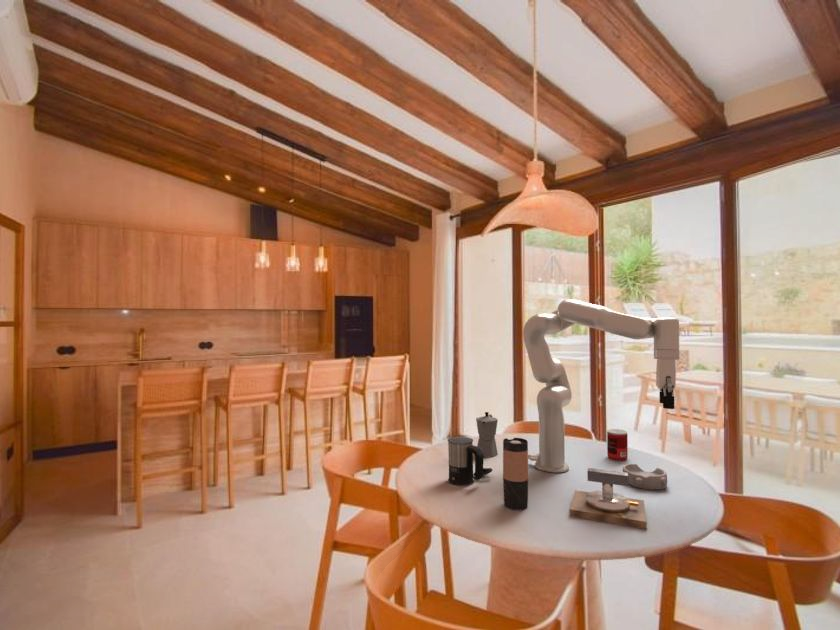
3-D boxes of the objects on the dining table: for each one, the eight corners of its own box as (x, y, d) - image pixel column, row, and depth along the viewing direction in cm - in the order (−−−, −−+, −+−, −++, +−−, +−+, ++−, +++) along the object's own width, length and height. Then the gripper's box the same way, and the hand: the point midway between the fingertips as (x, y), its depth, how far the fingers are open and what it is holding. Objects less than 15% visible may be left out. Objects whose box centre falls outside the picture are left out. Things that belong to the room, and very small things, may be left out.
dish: (620, 475, 165) (620, 461, 165) (662, 479, 160) (662, 465, 160) (625, 489, 151) (625, 474, 151) (671, 494, 146) (671, 478, 147)
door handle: (584, 507, 130) (584, 475, 130) (587, 493, 141) (587, 463, 141) (638, 516, 124) (638, 482, 124) (637, 500, 135) (637, 469, 135)
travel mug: (523, 512, 132) (523, 445, 132) (499, 507, 136) (499, 441, 136) (531, 503, 138) (531, 439, 139) (508, 498, 143) (508, 436, 143)
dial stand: (569, 516, 129) (569, 508, 129) (575, 496, 144) (575, 489, 144) (646, 529, 121) (646, 521, 121) (644, 506, 136) (644, 499, 136)
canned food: (628, 456, 186) (628, 430, 186) (626, 461, 179) (625, 434, 179) (609, 453, 190) (609, 428, 190) (605, 458, 183) (605, 432, 184)
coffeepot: (494, 459, 183) (494, 415, 183) (472, 457, 186) (472, 414, 186) (501, 449, 197) (501, 409, 197) (481, 447, 200) (480, 407, 201)
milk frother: (443, 483, 156) (443, 441, 156) (459, 470, 170) (459, 431, 171) (482, 490, 150) (482, 446, 150) (495, 475, 164) (495, 435, 164)
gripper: (651, 352, 158) (651, 400, 158) (656, 356, 142) (656, 409, 142) (675, 353, 155) (675, 402, 155) (683, 357, 139) (683, 411, 139)
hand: (666, 405), depth 148 cm, fingers open, 9 cm apart
